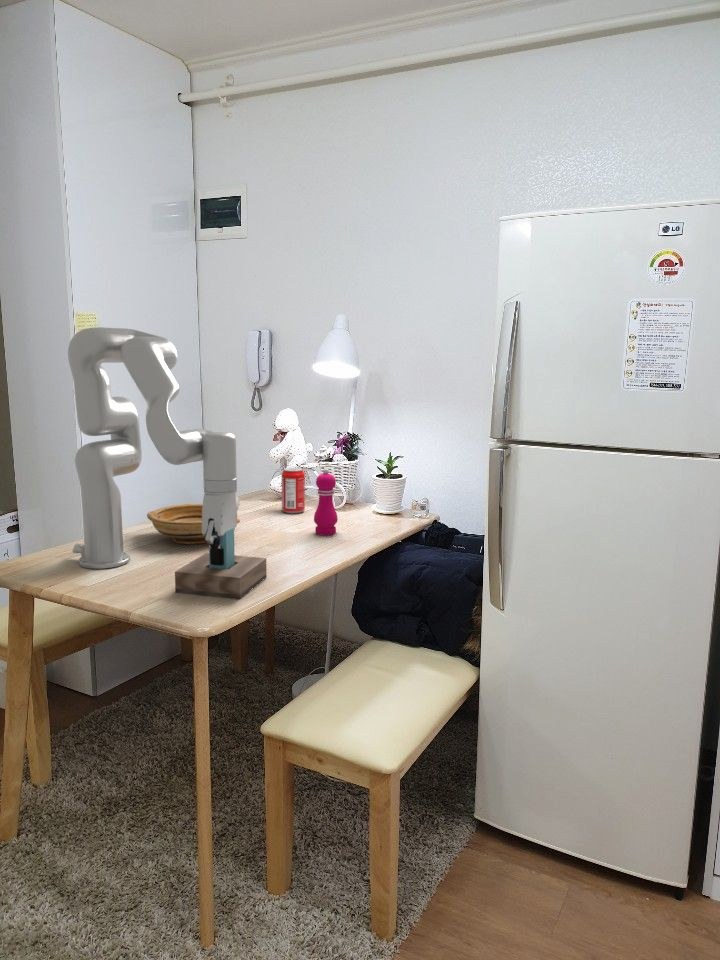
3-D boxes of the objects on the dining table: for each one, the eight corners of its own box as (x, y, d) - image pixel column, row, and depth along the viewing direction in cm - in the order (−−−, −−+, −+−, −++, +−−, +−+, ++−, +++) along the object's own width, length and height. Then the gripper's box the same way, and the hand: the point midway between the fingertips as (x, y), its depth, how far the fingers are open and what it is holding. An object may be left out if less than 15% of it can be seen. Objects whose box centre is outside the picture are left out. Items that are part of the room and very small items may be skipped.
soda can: (285, 515, 245) (285, 471, 242) (279, 510, 252) (278, 467, 249) (307, 513, 248) (307, 470, 245) (300, 508, 255) (300, 466, 252)
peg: (209, 576, 171) (208, 531, 169) (217, 571, 175) (216, 526, 173) (226, 578, 170) (226, 532, 168) (234, 572, 174) (234, 528, 172)
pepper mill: (323, 537, 217) (324, 471, 214) (309, 532, 222) (309, 468, 219) (342, 533, 222) (342, 468, 218) (327, 528, 227) (327, 465, 224)
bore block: (175, 592, 167) (174, 571, 166) (206, 572, 182) (206, 552, 182) (240, 599, 163) (239, 577, 162) (266, 577, 179) (266, 558, 178)
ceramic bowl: (257, 533, 220) (257, 508, 219) (217, 554, 198) (217, 526, 196) (172, 525, 229) (171, 500, 228) (125, 544, 207) (124, 516, 205)
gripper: (220, 478, 177) (222, 551, 181) (188, 491, 161) (190, 570, 165) (249, 480, 176) (250, 553, 179) (219, 493, 160) (221, 573, 163)
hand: (221, 561), depth 172 cm, fingers closed on peg, 4 cm apart
